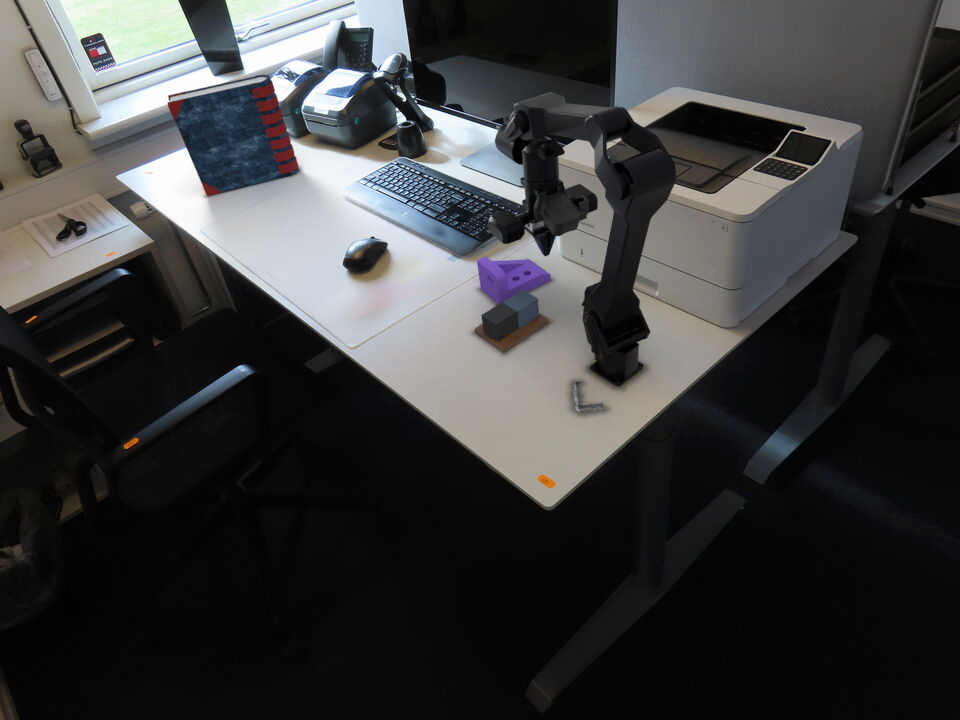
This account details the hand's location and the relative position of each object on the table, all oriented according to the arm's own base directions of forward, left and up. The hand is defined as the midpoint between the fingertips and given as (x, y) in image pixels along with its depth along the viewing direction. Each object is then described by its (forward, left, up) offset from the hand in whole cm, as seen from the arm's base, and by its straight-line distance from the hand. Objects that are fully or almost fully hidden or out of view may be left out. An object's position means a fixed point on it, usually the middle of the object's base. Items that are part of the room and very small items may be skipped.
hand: (545, 254), depth 119 cm
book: (+98, +14, -11) cm, 100 cm away
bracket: (+9, 0, -11) cm, 14 cm away
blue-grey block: (0, +7, -10) cm, 12 cm away
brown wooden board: (0, +10, -11) cm, 15 cm away
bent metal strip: (-22, +14, -11) cm, 28 cm away
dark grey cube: (0, +12, -10) cm, 16 cm away
